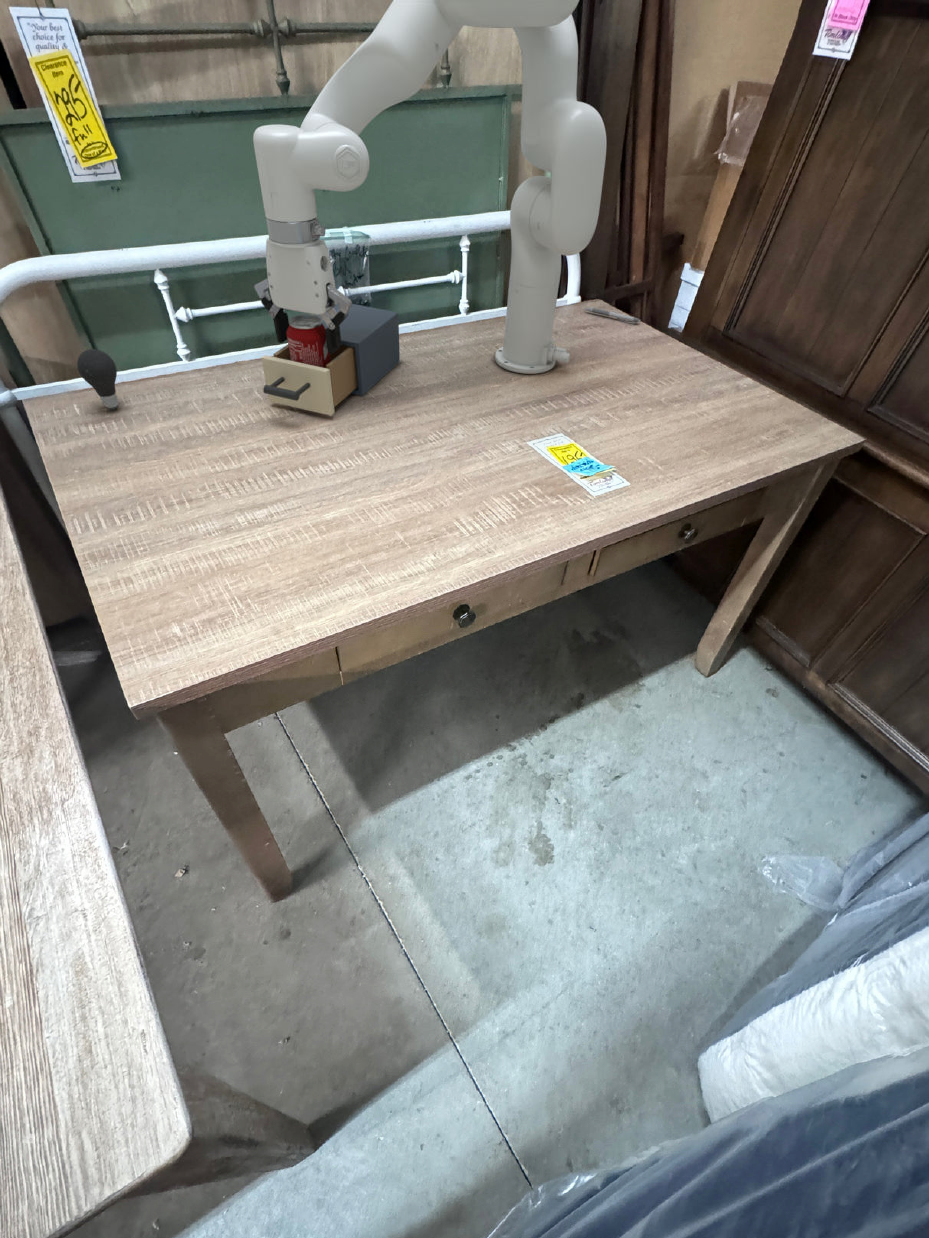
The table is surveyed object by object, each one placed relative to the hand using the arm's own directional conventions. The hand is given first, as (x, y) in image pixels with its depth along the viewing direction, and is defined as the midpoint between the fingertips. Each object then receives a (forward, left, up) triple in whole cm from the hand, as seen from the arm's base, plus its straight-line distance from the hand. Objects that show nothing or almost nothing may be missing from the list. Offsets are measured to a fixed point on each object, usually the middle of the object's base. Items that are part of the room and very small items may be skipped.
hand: (309, 345), depth 105 cm
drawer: (0, 0, -9) cm, 9 cm away
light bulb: (+30, +18, -10) cm, 36 cm away
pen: (-42, -66, -10) cm, 79 cm away
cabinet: (0, -13, -10) cm, 17 cm away
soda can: (0, 0, -8) cm, 8 cm away
